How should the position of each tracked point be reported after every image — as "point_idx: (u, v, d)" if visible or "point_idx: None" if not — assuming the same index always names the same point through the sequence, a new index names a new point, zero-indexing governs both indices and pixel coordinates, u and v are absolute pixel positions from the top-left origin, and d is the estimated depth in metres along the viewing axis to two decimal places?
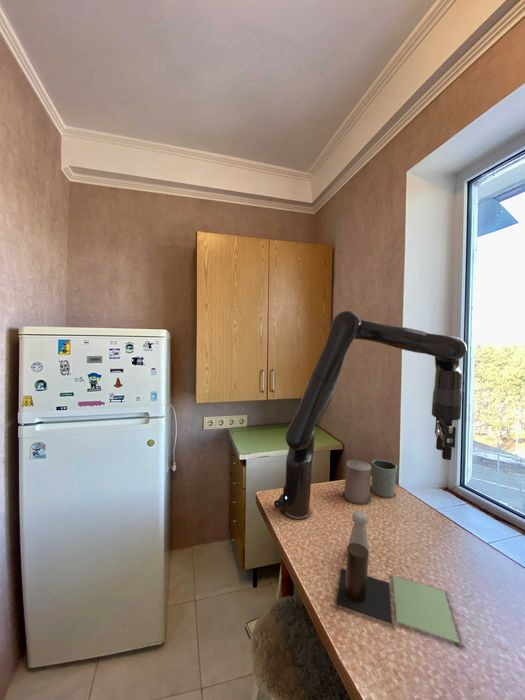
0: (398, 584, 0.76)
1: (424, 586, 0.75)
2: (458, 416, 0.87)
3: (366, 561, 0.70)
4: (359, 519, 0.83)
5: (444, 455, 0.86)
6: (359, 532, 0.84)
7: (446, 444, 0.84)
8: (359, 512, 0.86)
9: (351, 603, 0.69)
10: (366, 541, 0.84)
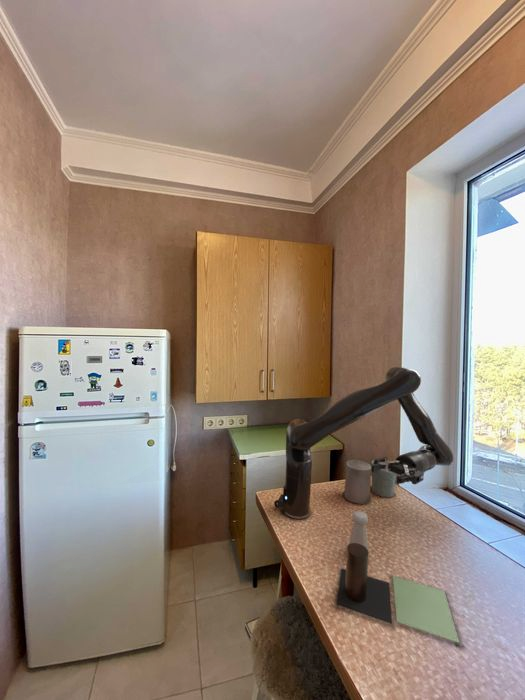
0: (398, 584, 0.76)
1: (424, 586, 0.75)
2: None
3: (366, 561, 0.70)
4: (359, 519, 0.83)
5: (402, 477, 0.88)
6: (359, 532, 0.84)
7: (416, 477, 0.88)
8: (359, 512, 0.86)
9: (351, 603, 0.69)
10: (366, 541, 0.84)
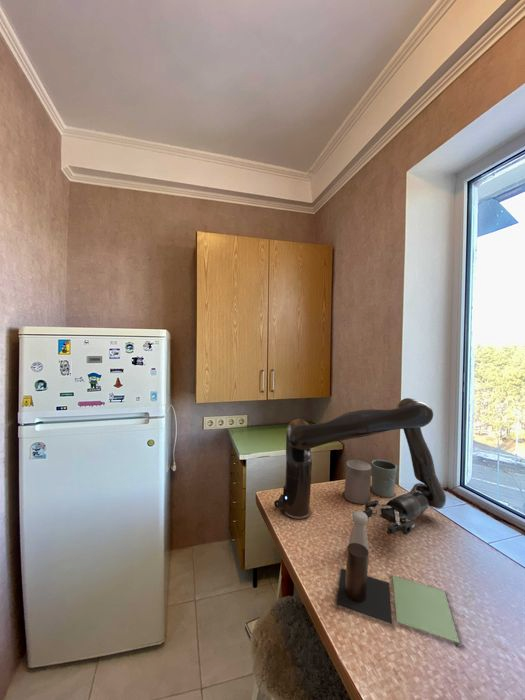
0: (398, 584, 0.76)
1: (424, 586, 0.75)
2: None
3: (366, 561, 0.70)
4: (359, 519, 0.83)
5: (392, 528, 0.86)
6: (359, 532, 0.84)
7: (407, 527, 0.87)
8: (359, 512, 0.86)
9: (351, 603, 0.69)
10: (366, 541, 0.84)
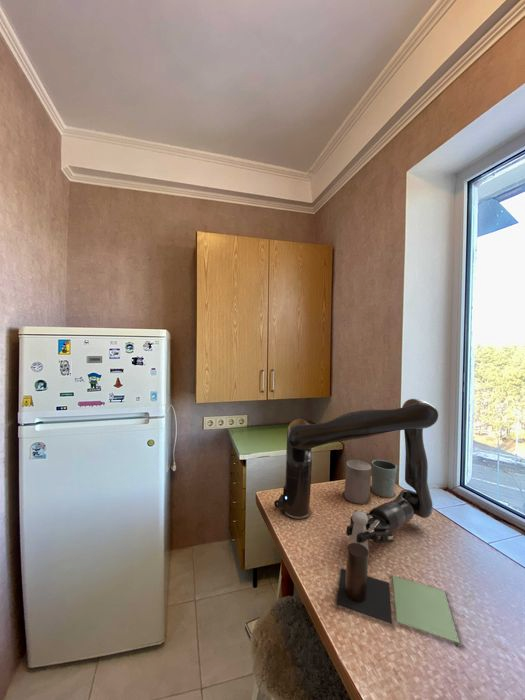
0: (398, 584, 0.76)
1: (424, 586, 0.75)
2: None
3: (366, 561, 0.70)
4: (359, 519, 0.83)
5: (362, 536, 0.82)
6: (359, 532, 0.84)
7: (377, 535, 0.83)
8: (359, 512, 0.86)
9: (351, 603, 0.69)
10: (366, 541, 0.84)
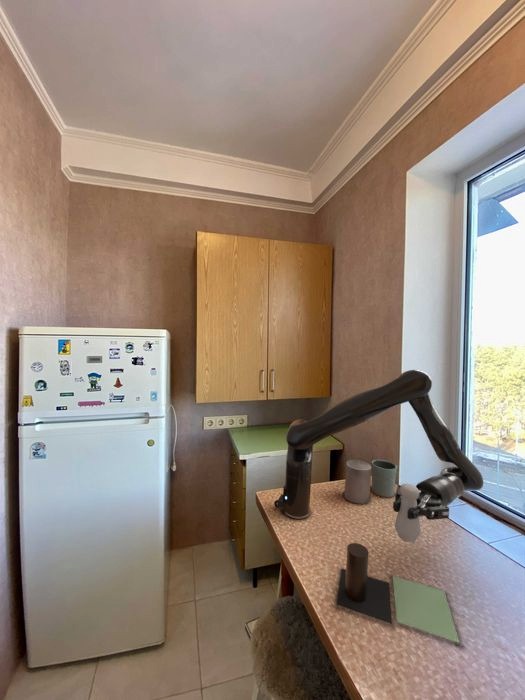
0: (398, 584, 0.76)
1: (424, 586, 0.75)
2: None
3: (366, 561, 0.70)
4: (410, 492, 0.71)
5: (414, 512, 0.70)
6: (409, 508, 0.72)
7: None
8: (408, 485, 0.74)
9: (351, 603, 0.69)
10: (418, 518, 0.72)
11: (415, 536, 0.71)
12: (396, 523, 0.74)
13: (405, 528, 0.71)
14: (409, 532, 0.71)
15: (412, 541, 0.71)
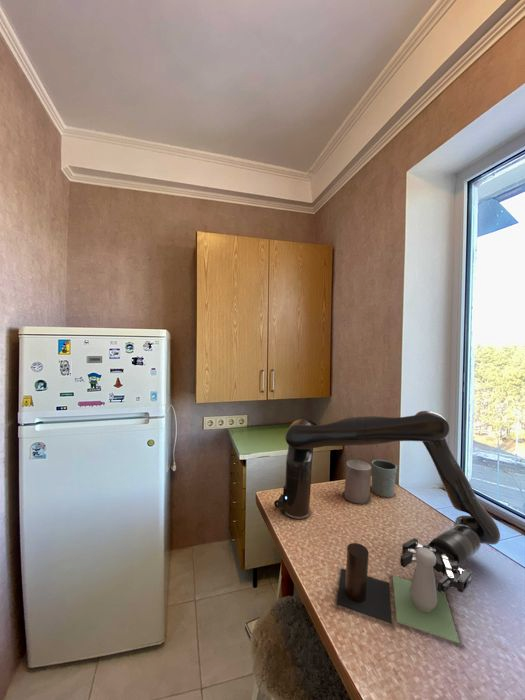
0: (398, 584, 0.76)
1: None
2: None
3: (366, 561, 0.70)
4: (427, 560, 0.68)
5: (445, 584, 0.65)
6: (426, 575, 0.68)
7: (463, 583, 0.66)
8: (424, 549, 0.70)
9: (351, 603, 0.69)
10: (434, 586, 0.68)
11: (432, 606, 0.67)
12: (411, 590, 0.70)
13: (421, 597, 0.68)
14: (426, 602, 0.67)
15: (428, 611, 0.68)
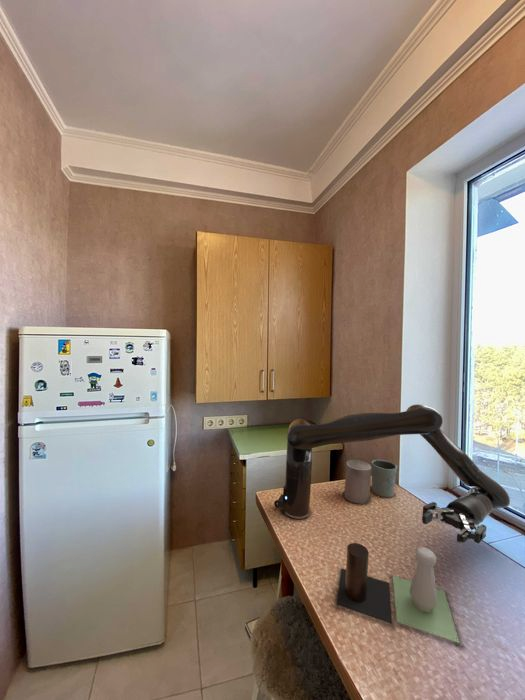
0: (398, 584, 0.76)
1: None
2: None
3: (366, 561, 0.70)
4: (427, 560, 0.68)
5: (463, 535, 0.74)
6: (426, 575, 0.68)
7: (480, 534, 0.74)
8: (424, 549, 0.70)
9: (351, 603, 0.69)
10: (434, 586, 0.68)
11: (432, 606, 0.67)
12: (411, 590, 0.70)
13: (421, 597, 0.68)
14: (426, 602, 0.67)
15: (428, 611, 0.68)
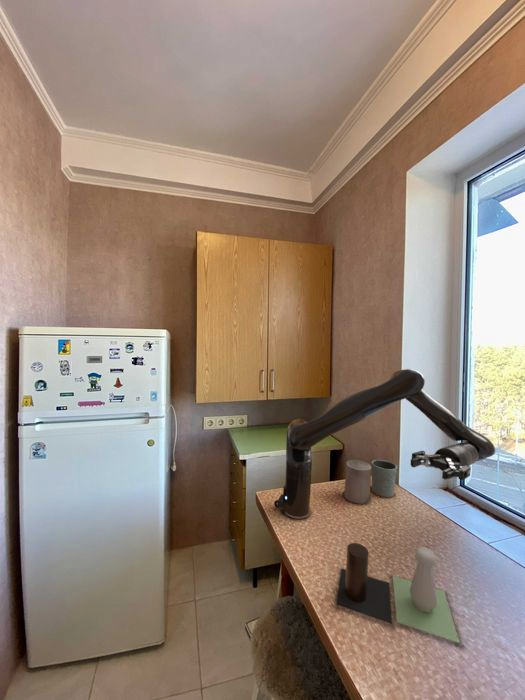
0: (398, 584, 0.76)
1: None
2: None
3: (366, 561, 0.70)
4: (427, 560, 0.68)
5: (448, 472, 0.79)
6: (426, 575, 0.68)
7: (464, 472, 0.79)
8: (424, 549, 0.70)
9: (351, 603, 0.69)
10: (434, 586, 0.68)
11: (432, 606, 0.67)
12: (411, 590, 0.70)
13: (421, 597, 0.68)
14: (426, 602, 0.67)
15: (428, 611, 0.68)
